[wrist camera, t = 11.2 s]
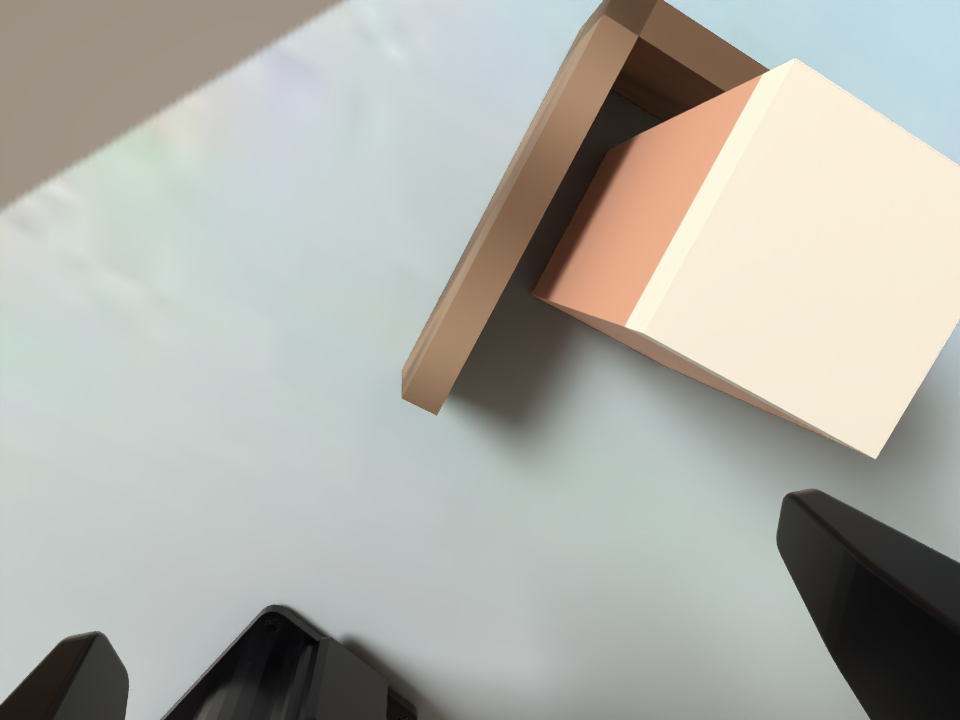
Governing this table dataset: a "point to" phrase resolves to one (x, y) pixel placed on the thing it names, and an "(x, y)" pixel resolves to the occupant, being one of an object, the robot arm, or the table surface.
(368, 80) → the table surface
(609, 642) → the table surface
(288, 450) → the table surface
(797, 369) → the pink tall block
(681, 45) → the walnut corner walls
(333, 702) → the robot arm
